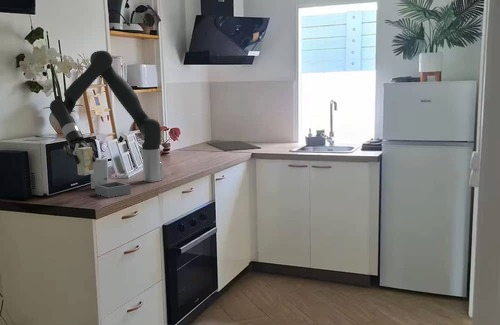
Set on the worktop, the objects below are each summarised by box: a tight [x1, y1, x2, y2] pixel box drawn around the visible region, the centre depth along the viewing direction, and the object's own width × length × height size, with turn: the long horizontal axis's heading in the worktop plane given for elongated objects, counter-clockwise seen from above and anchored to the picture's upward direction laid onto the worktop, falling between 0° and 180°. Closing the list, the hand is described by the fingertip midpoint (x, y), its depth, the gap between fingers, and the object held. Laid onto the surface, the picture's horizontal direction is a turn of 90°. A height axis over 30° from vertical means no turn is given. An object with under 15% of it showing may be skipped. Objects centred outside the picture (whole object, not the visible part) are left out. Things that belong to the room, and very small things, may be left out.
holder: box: [94, 180, 132, 199], centre depth 239 cm, size 12×12×4 cm
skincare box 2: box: [90, 157, 109, 190], centre depth 254 cm, size 8×6×15 cm
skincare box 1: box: [76, 147, 94, 176], centre depth 229 cm, size 6×4×12 cm
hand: (86, 162), depth 228 cm, fingers closed on skincare box 1, 7 cm apart
